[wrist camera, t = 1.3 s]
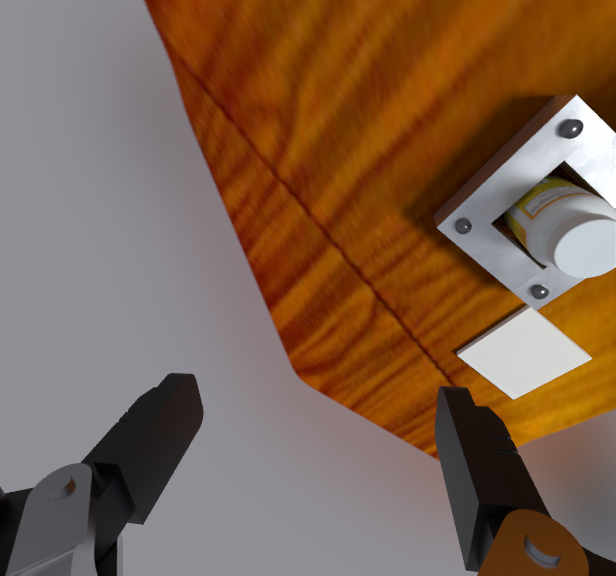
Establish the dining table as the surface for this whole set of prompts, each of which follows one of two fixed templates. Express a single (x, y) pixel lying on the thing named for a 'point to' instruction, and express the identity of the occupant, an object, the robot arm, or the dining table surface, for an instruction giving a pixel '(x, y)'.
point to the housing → (519, 180)
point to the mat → (523, 353)
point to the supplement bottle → (565, 228)
